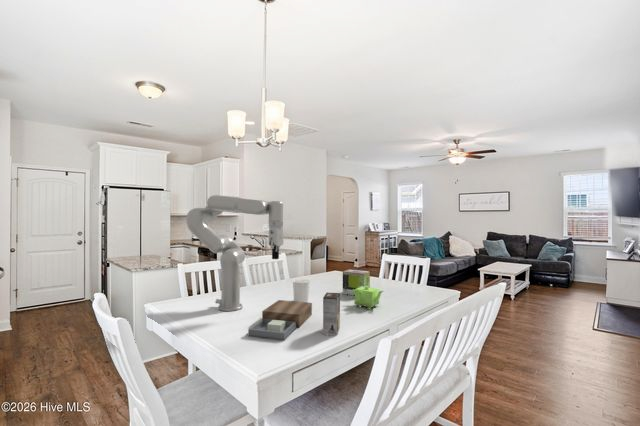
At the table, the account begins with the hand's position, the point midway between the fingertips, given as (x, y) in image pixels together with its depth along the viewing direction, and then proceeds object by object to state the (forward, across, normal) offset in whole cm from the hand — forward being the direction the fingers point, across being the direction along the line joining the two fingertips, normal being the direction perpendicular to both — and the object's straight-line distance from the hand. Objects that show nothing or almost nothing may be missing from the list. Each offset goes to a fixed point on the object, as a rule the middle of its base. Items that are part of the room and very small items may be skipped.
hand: (275, 258), depth 174 cm
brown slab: (+27, -12, -12) cm, 32 cm away
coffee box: (+27, -22, -36) cm, 50 cm away
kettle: (+27, +21, -46) cm, 58 cm away
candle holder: (+27, +20, -8) cm, 35 cm away
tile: (+24, -28, -13) cm, 39 cm away
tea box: (+27, +47, -36) cm, 65 cm away
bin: (+27, -30, -12) cm, 43 cm away
